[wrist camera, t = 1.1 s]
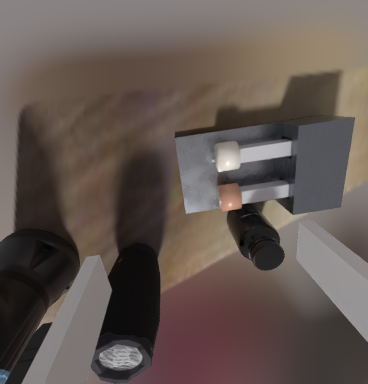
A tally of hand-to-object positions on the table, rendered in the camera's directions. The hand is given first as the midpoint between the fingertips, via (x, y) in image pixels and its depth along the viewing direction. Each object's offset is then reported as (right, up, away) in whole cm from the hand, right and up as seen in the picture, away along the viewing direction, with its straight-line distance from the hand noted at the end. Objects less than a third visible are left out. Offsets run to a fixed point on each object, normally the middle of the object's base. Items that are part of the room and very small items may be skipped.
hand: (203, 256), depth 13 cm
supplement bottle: (+10, -1, +30) cm, 32 cm away
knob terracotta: (+11, +5, +25) cm, 28 cm away
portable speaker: (-10, -10, +31) cm, 34 cm away
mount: (+11, +8, +26) cm, 29 cm away
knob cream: (+10, +11, +23) cm, 27 cm away
